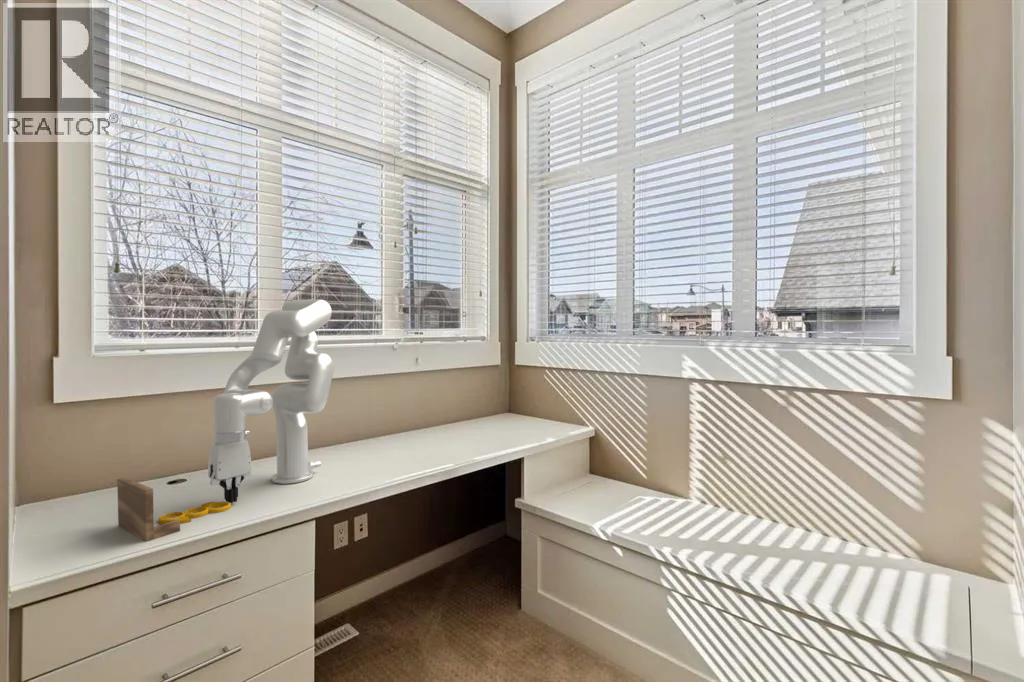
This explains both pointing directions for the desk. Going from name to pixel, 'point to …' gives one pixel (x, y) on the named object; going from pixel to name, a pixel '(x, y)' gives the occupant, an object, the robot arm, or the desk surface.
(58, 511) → the desk surface
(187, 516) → the yellow triple ring ornament
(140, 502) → the display stand
